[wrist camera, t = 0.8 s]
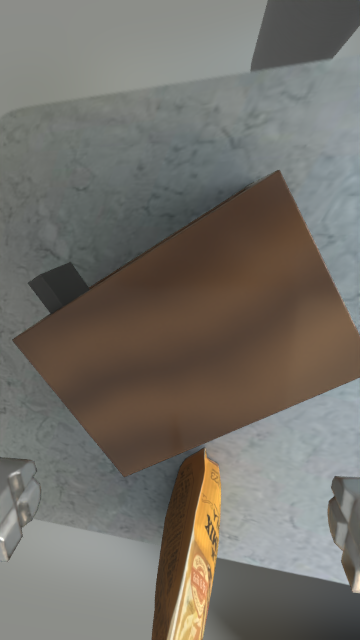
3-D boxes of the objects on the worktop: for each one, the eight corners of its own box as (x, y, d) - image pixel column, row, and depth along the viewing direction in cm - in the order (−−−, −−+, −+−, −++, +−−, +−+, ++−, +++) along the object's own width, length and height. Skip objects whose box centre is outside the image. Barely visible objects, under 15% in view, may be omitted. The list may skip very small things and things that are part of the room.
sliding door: (66, 267, 29) (10, 292, 21) (139, 217, 27) (107, 224, 19) (96, 309, 30) (53, 347, 22) (168, 264, 28) (150, 289, 20)
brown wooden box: (77, 294, 31) (11, 340, 21) (254, 181, 26) (279, 169, 16) (150, 395, 34) (124, 477, 24) (320, 311, 29) (377, 370, 19)
